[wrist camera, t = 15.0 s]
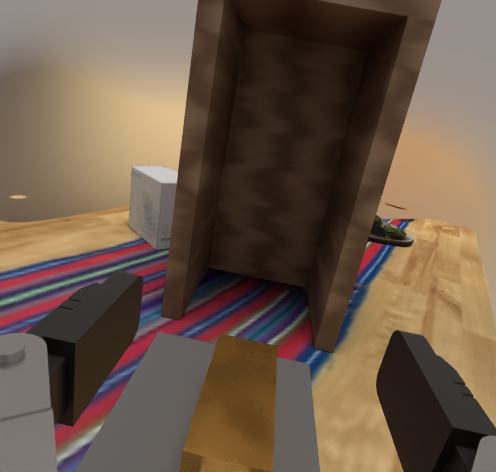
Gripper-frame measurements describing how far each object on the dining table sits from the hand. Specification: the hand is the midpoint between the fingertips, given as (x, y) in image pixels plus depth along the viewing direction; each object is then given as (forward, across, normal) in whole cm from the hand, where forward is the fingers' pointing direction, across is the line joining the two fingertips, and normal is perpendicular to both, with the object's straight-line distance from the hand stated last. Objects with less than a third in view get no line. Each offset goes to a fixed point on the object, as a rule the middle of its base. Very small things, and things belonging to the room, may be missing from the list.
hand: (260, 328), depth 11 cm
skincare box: (+44, +17, +15) cm, 50 cm away
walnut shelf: (+30, 0, +15) cm, 34 cm away
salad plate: (+74, -25, +16) cm, 80 cm away
